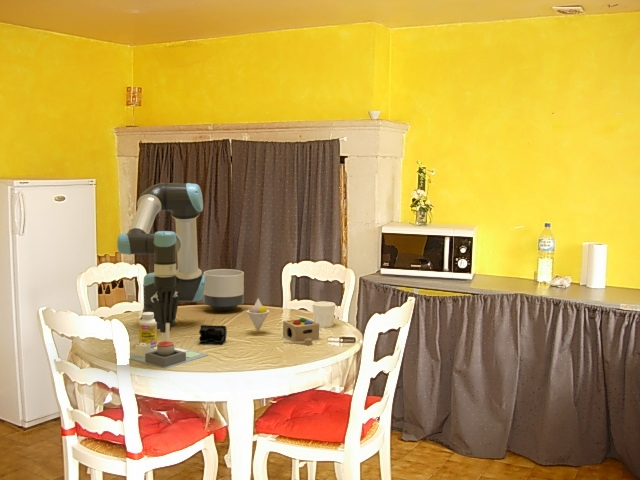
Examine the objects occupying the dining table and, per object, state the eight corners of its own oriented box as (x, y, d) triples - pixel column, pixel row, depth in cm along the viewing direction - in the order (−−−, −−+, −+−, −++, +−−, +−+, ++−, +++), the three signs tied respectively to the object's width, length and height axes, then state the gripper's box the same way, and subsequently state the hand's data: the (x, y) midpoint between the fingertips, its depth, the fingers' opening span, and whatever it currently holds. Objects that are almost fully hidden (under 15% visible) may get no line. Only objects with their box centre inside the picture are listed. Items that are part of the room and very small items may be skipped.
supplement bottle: (138, 348, 266) (138, 315, 265) (139, 343, 273) (139, 311, 271) (156, 347, 268) (156, 314, 266) (157, 343, 274) (156, 311, 273)
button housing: (145, 361, 248) (145, 353, 247) (166, 355, 256) (166, 347, 255) (164, 367, 242) (164, 358, 242) (185, 360, 250) (185, 352, 250)
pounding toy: (270, 340, 283) (270, 320, 282) (301, 333, 295) (302, 314, 294) (300, 350, 270) (300, 329, 269) (332, 342, 282) (332, 322, 281)
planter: (248, 305, 345) (249, 270, 343) (235, 314, 326) (235, 276, 324) (212, 303, 349) (212, 268, 347) (197, 311, 331) (197, 274, 329)
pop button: (153, 354, 248) (153, 343, 247) (166, 351, 253) (166, 340, 252) (165, 358, 244) (165, 346, 244) (177, 354, 249) (177, 343, 249)
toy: (265, 336, 288) (266, 300, 286) (243, 334, 289) (244, 299, 288) (271, 331, 297) (272, 296, 295) (250, 329, 299) (250, 295, 297)
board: (123, 358, 254) (123, 355, 253) (167, 345, 271) (167, 343, 271) (165, 369, 241) (165, 367, 241) (208, 356, 258) (208, 354, 258)
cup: (308, 327, 305) (309, 304, 304) (317, 322, 314) (317, 300, 313) (329, 329, 301) (330, 307, 300) (337, 324, 311) (338, 302, 309)
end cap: (226, 340, 280) (226, 324, 280) (223, 345, 273) (223, 328, 272) (202, 339, 281) (202, 323, 280) (198, 344, 274) (198, 327, 273)
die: (135, 355, 254) (135, 344, 254) (141, 353, 258) (141, 342, 258) (144, 357, 253) (144, 346, 253) (150, 354, 257) (150, 343, 256)
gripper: (158, 279, 238) (158, 346, 240) (186, 274, 248) (186, 338, 251) (143, 276, 242) (144, 342, 245) (171, 271, 253) (172, 335, 255)
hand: (165, 340), depth 248 cm, fingers closed
